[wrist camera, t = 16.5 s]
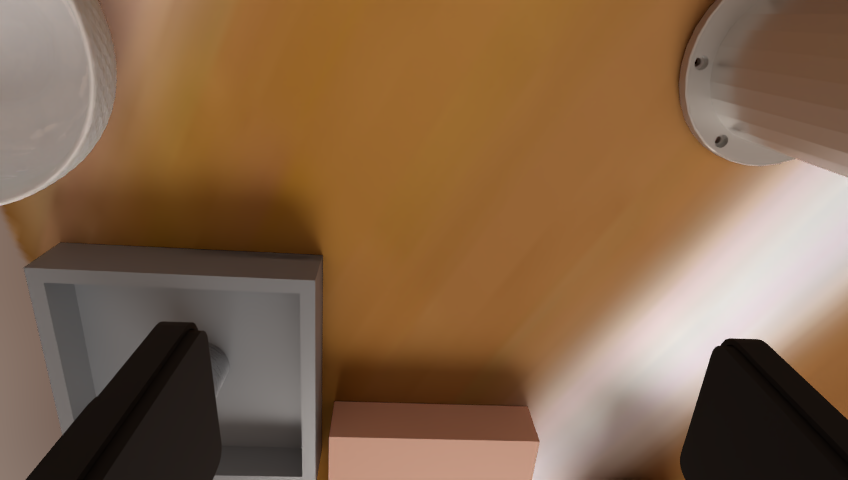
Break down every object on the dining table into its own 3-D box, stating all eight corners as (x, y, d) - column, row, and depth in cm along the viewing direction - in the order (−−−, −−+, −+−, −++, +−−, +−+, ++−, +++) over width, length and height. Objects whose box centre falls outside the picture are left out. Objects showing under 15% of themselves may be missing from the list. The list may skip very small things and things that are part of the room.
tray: (322, 255, 39) (315, 280, 35) (321, 448, 45) (315, 486, 42) (60, 242, 37) (23, 267, 34) (100, 443, 44) (73, 483, 40)
